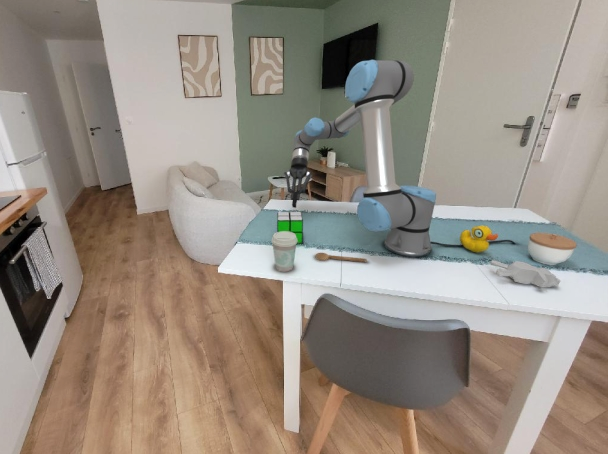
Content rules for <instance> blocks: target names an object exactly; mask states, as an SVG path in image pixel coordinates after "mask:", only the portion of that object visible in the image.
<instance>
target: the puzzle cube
mask: <svg viewBox="0 0 608 454" xmlns="http://www.w3.org/2000/svg"><path fill="white" fill-rule="evenodd" d="M276 215H277V216H276V226H277V227H276V233H277V232H280V231H288V232H292V233H294V234H295V235H296V238H297V241H298V242H297V244H303V237H304V236H303V235H304V232H303V231H304V218H303V212H301V211H277V214H276Z"/></svg>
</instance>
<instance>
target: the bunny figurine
mask: <svg viewBox="0 0 608 454" xmlns="http://www.w3.org/2000/svg"><path fill="white" fill-rule="evenodd" d="M489 264H490V265H491V266H495V267H498V268H497V269H496V274H497V275H498V276H501V277H510V278H511V279H512V280H513V282H515V283H519V284H523V285H530V284H532V285H534V286H537V287H539V288H552V287H554V286H559V285H560V283H561V280H560V279H559V277H557V276H556V274H554V273H552V272H551V271H550V270H549V269H547V268H545V267H536V266H534V265H533V264H530V263H527V262H524V261H519V260H518V261H517V260H515V261H513V262H511V264H505V263H503V262H500V261H498V260H494V259H493V260H490V261H489Z"/></svg>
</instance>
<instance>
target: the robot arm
mask: <svg viewBox="0 0 608 454" xmlns="http://www.w3.org/2000/svg"><path fill="white" fill-rule="evenodd" d="M414 80H415V74H414V70H413V68H412V67H411V65H410V64H408V63H407V62H406V61H404V60H398V59H395V60H375V59H369V60H362V61H360V62H358V63H356V64H355V65H354V66H353V67H352V68H351V70H350V71H349V74H348V76H347V78H346V81H345V86H344V93H345V97H346V99H347V100H348V101H349V102H350V103H353V105H351V106H350V107H349V108H348V109H346V110H345V111H344V112H343V113H341V114H340V115H339V116H338V117H336V118H335V119H334V120H330V121H328V120H327V121H323V120H322V118H318V117H312V118H310V119H309V120H308V122H306V123H305V125H304V127H303V129H301V130H298V131H297V132H296V133H295V137H294V143H293V150H292V157H291V163H290V168H289V170H288V171H285V172H284V173H283V175H284V177H285V179H286V188H287V192H288V194H290V201H292V203H291V207H292V208H297V203H298V201H300V199H301V194H305V192H306V189H307V187H308V185H309V182H310V180H311V179H312V178H313V173H312V172H310V171H308V165H309V156H310V148H311V146H312V145H313V144H314V142H315V141H317V140H330V139H340V138H345V137H347V136H348V134H349V133H350V130H352V129H353V128H354V127H356V126H358V125H359V124H361V136H362V146H363V156H364V157H363V158H364V166H365V177H366V178H365V179H366V188H365V189H364V190H363V192H362V197H363V198H362V199H360V201H359V202H358V204H357V208H356V213H357V217H358V219H359V221H360V223H361V225H363V227H364V228H366V229H367V230H369V231H370V232H385V231H388V230H389V231H388V233H387V235H386V237H385V239H384V245H383V246H384V247H385V249H386V250H388V251H389V252H391V253H392V254H395V255H397V256H403V257H408V258H423V257H427V256H428V255H430V254H431V252H432V245H437V246H440V247H441V246H443V247H452V248H454V247H455V248H458V247H459V248H465V247H464V246H463V245H462V244H447V243H440V242H438V241H437V242H436V241H431V237H430V227H431V224H432V218H433V214H434V210H435V205H436V204H437V203H436V199H437V193H436V192H435V191H434V190H433V189H430V188H426V187H422V186H417V185H407V184H405V185H398V184H397V183H396V174H395V173H396V172H395V162H394V161H395V159H394V150H393V139H392V126H391V125H392V124H391V113H390V107H391V106H393V105H395V104H396V103H398V102H399V101H400V100H402V99H404V97H405V96H406V95H407V94H408V93H409V92H410V91H411V89H412V87H413V85H414V82H415V81H414ZM290 177H292V184H291V183H290V182H291V181H290ZM304 178H305V180H304V182H303V184H302V181H303V179H304ZM297 180H298V181H297ZM296 185H297V188H296ZM296 189H297V190H296ZM488 243H489V244H494V243H496V244H497V243H511V244H512V245H516V241H513V240H511V239H499V240H492V241H489V240H488Z"/></svg>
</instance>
